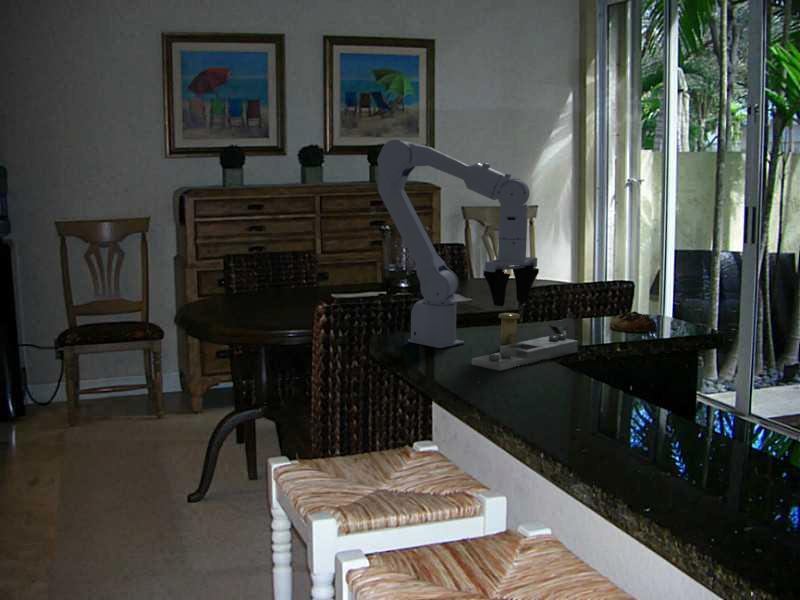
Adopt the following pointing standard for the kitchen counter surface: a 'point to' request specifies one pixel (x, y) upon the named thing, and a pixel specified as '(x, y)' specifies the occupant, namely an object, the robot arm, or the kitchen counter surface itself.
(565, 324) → the caliper
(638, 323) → the bread roll
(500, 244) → the robot arm
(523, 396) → the kitchen counter surface
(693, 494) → the kitchen counter surface
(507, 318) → the pin
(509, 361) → the square window plate
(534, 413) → the kitchen counter surface
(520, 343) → the right chain end
